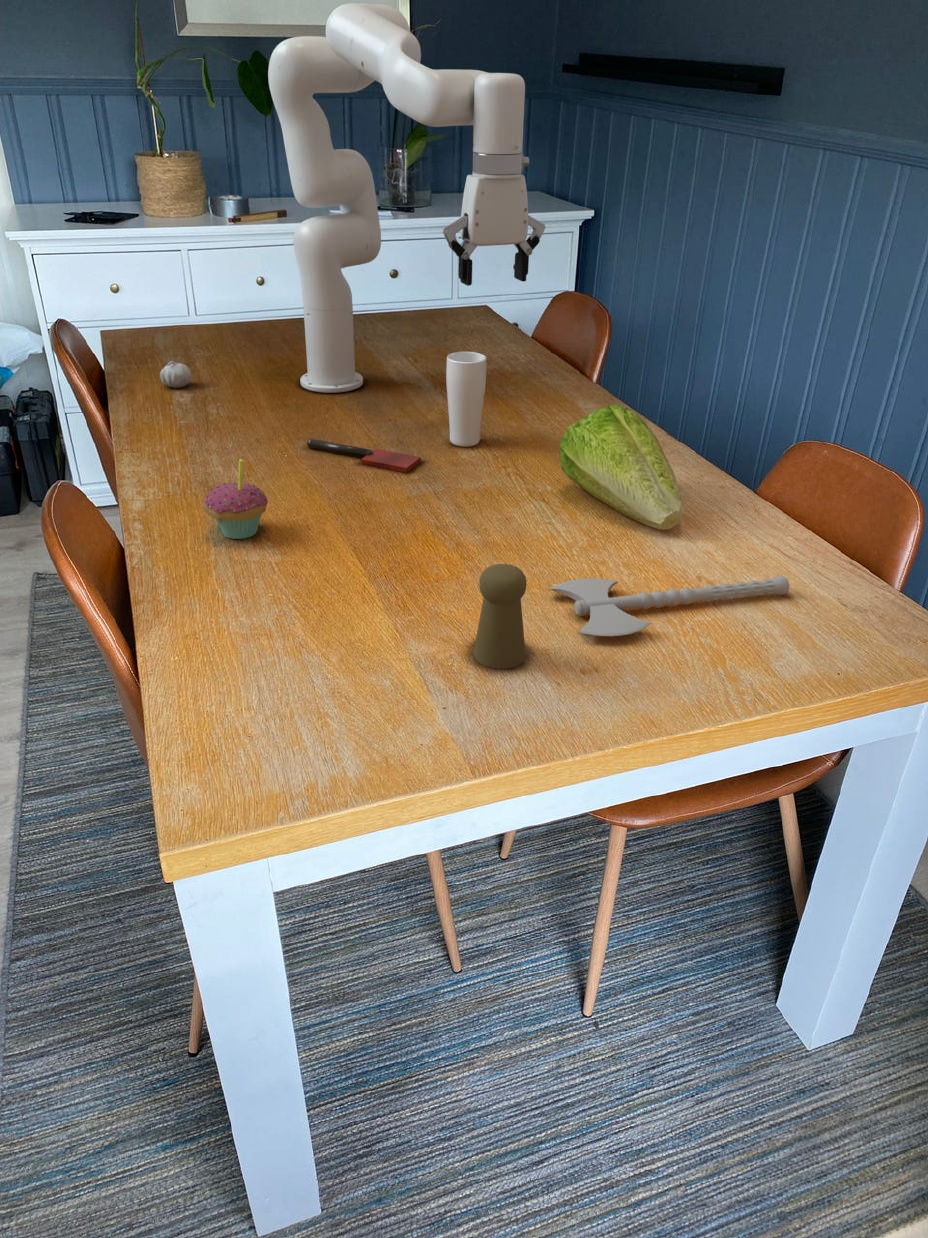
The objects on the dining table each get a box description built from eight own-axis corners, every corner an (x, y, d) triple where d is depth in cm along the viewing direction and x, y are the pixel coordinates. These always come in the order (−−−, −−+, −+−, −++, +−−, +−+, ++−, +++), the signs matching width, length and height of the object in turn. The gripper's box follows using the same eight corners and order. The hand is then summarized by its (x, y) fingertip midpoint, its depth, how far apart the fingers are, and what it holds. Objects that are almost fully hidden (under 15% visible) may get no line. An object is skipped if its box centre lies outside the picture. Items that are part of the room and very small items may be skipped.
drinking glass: (485, 436, 169) (488, 352, 162) (482, 450, 164) (485, 363, 156) (447, 434, 170) (448, 350, 162) (443, 448, 164) (444, 361, 156)
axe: (756, 568, 129) (759, 552, 128) (812, 620, 117) (816, 603, 116) (545, 590, 122) (546, 574, 121) (582, 648, 111) (584, 631, 110)
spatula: (299, 452, 161) (299, 443, 160) (316, 442, 165) (315, 433, 165) (406, 472, 155) (406, 463, 154) (420, 461, 159) (420, 452, 158)
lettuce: (618, 513, 129) (706, 453, 129) (538, 429, 145) (617, 376, 144) (643, 573, 140) (724, 517, 140) (566, 489, 155) (639, 439, 155)
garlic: (169, 392, 186) (165, 366, 184) (157, 385, 190) (154, 359, 187) (198, 387, 190) (194, 361, 187) (186, 380, 193) (182, 354, 190)
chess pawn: (470, 640, 112) (473, 557, 106) (521, 639, 112) (527, 556, 107) (475, 669, 107) (478, 583, 101) (529, 668, 107) (535, 582, 102)
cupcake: (281, 526, 137) (274, 447, 130) (246, 550, 130) (237, 468, 124) (232, 514, 140) (223, 436, 133) (195, 537, 133) (184, 456, 127)
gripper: (536, 161, 152) (530, 273, 161) (435, 164, 146) (435, 280, 155) (558, 166, 146) (551, 282, 155) (454, 169, 140) (453, 290, 149)
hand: (493, 281), depth 155 cm, fingers open, 9 cm apart
